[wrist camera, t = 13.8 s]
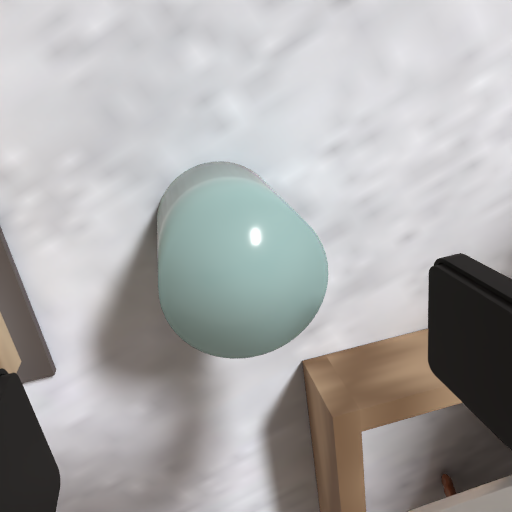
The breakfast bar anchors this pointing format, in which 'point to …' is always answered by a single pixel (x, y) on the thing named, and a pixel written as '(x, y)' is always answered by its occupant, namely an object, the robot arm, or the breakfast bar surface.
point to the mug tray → (364, 408)
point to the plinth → (19, 326)
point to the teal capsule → (235, 263)
